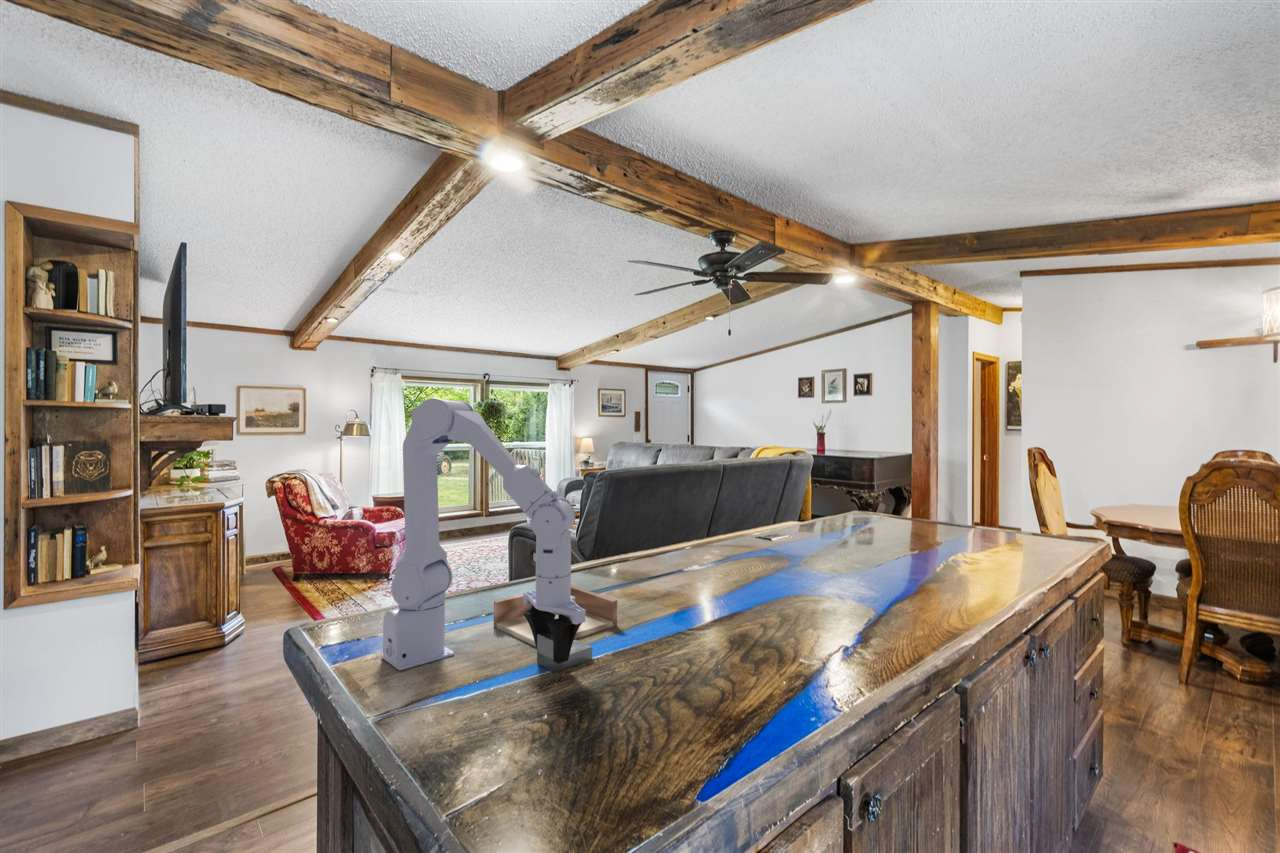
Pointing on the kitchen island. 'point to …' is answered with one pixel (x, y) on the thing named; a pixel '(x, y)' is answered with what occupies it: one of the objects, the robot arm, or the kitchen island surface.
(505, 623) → the corner arena
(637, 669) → the kitchen island surface
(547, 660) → the angle bracket
